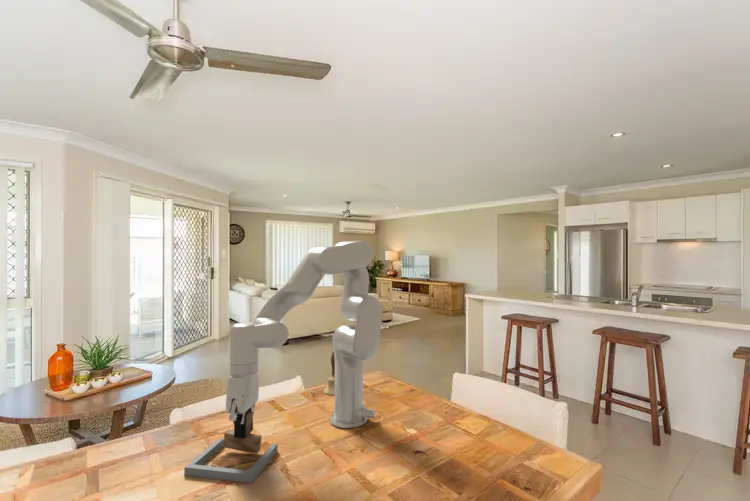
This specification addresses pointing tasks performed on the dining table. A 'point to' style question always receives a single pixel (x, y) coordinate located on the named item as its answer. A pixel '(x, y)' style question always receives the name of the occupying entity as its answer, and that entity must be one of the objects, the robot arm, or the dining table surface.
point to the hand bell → (331, 379)
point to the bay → (237, 475)
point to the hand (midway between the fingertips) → (243, 433)
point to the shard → (234, 461)
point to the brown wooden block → (243, 444)
